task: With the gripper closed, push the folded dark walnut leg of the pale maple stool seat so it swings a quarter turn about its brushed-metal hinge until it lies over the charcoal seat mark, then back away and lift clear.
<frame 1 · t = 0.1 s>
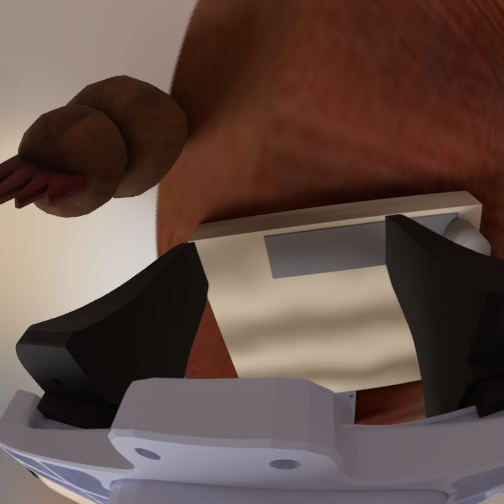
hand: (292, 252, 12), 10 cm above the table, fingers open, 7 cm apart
walnut leg: (453, 313, 20), point 4 cm above the table, hinge at 90.0°
wooden figurine: (154, 121, 20), on the table
maple seat: (345, 305, 25), on the table
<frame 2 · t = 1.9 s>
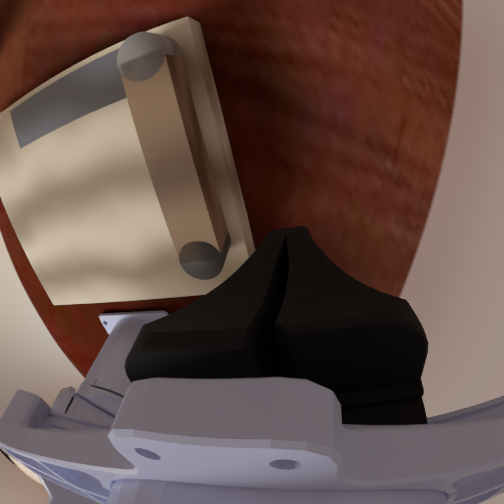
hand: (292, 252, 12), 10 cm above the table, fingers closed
walnut leg: (177, 157, 16), point 4 cm above the table, hinge at 90.0°
maple seat: (105, 184, 22), on the table
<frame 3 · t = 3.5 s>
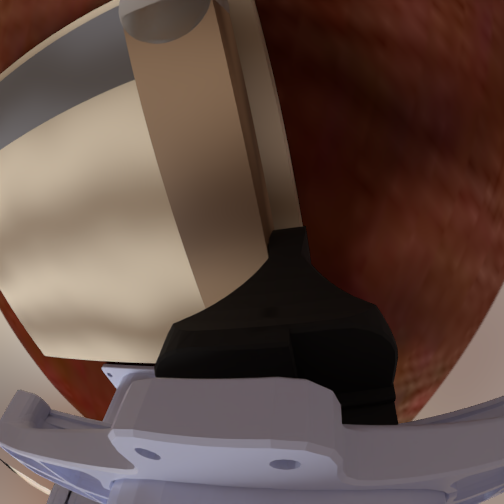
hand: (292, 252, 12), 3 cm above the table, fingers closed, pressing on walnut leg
walnut leg: (219, 181, 10), point 4 cm above the table, hinge at 88.8°, touching gripper
maple seat: (101, 209, 16), on the table
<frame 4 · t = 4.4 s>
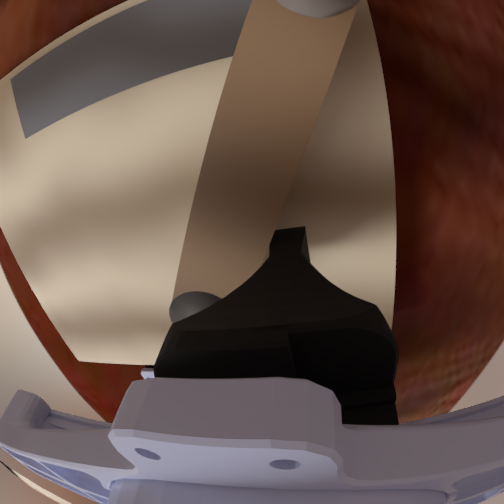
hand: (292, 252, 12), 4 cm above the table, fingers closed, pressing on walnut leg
walnut leg: (253, 158, 9), point 4 cm above the table, hinge at 60.7°, touching gripper
maple seat: (166, 198, 15), on the table
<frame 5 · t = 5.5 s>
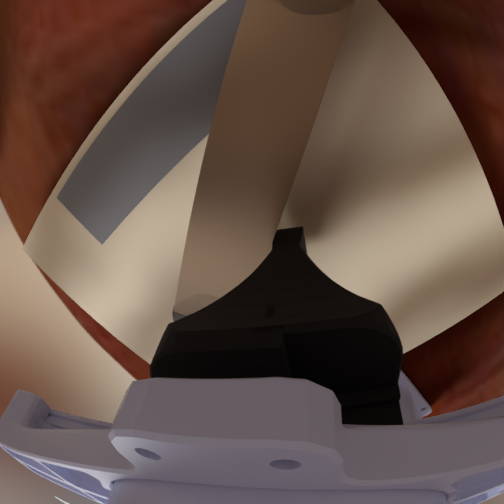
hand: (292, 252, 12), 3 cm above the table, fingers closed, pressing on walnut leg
walnut leg: (252, 159, 9), point 4 cm above the table, hinge at 32.9°, touching gripper
maple seat: (266, 239, 16), on the table
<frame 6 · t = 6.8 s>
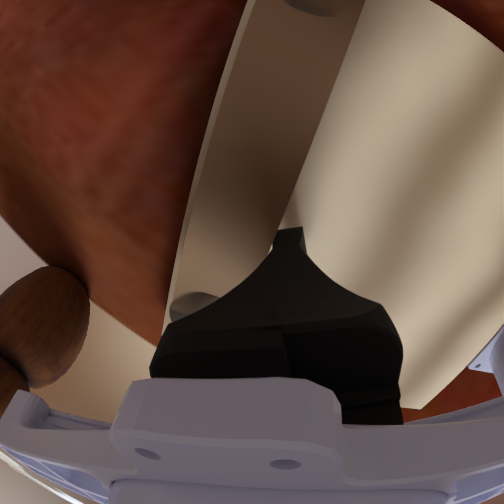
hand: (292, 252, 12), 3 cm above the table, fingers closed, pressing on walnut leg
walnut leg: (255, 158, 9), point 4 cm above the table, hinge at -0.1°, touching gripper
wooden figurine: (66, 287, 19), on the table
maple seat: (387, 231, 15), on the table
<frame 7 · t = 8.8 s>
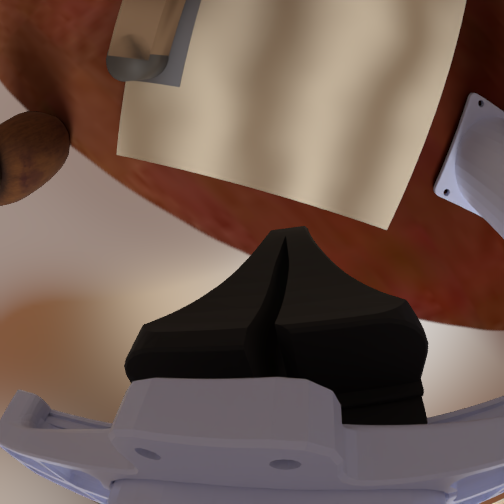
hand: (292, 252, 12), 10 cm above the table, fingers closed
wooden figurine: (53, 141, 21), on the table
maple seat: (295, 31, 16), on the table
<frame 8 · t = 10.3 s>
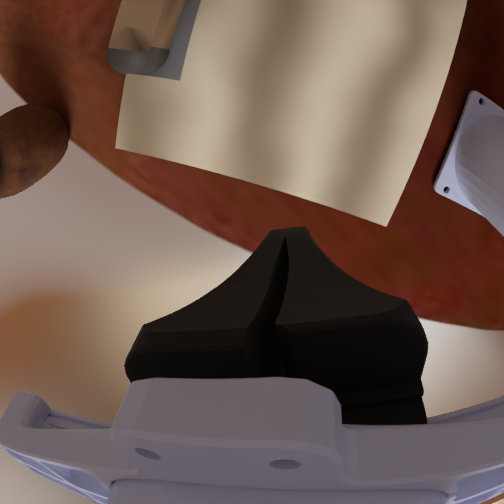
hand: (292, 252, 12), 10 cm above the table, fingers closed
wooden figurine: (52, 135, 21), on the table
maple seat: (296, 27, 16), on the table
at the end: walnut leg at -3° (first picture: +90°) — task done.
